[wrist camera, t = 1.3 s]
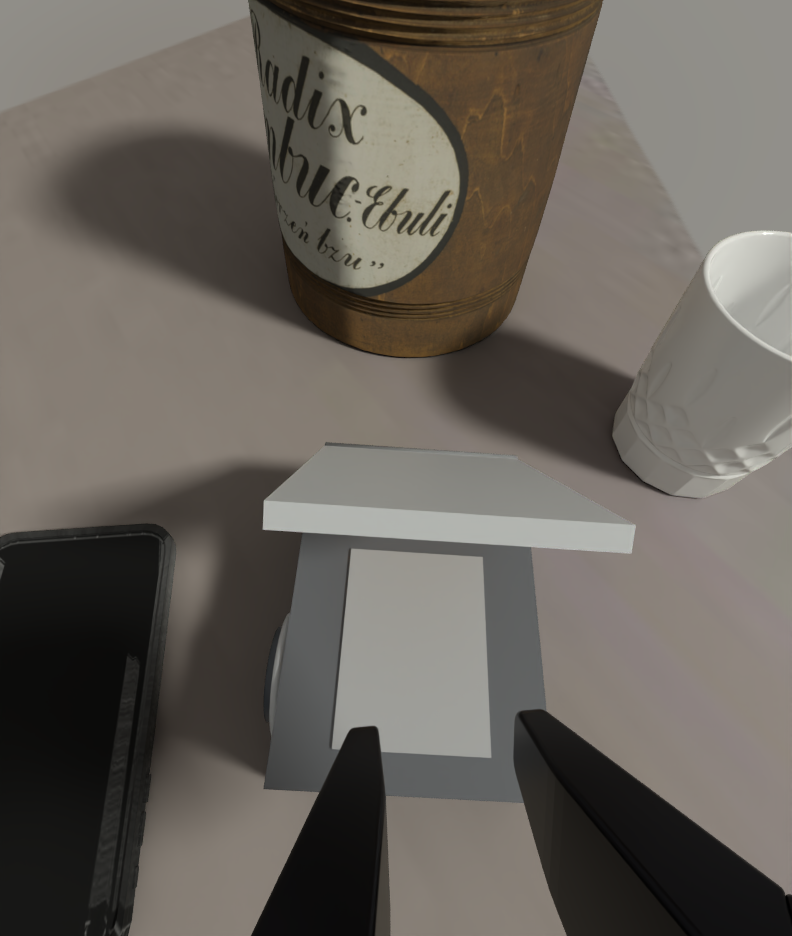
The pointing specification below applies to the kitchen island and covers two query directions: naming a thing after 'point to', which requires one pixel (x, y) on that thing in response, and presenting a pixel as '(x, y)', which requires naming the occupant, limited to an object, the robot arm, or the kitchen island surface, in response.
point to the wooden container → (415, 156)
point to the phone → (78, 721)
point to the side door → (440, 500)
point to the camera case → (406, 664)
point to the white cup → (716, 374)
